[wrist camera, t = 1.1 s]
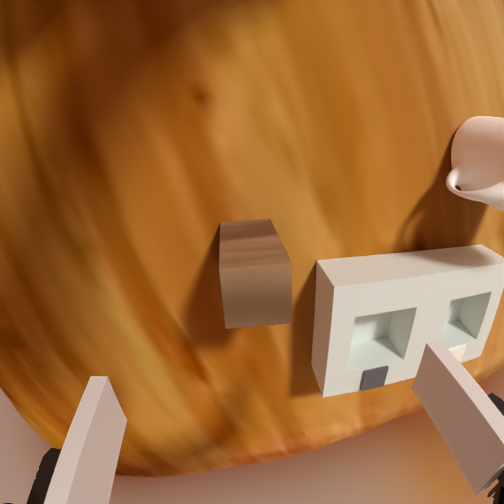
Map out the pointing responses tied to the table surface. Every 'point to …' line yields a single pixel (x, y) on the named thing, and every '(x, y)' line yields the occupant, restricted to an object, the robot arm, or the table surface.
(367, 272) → the socket board
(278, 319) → the plug
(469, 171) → the mug
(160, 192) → the table surface
